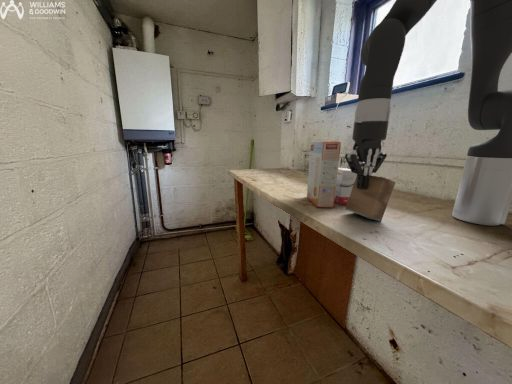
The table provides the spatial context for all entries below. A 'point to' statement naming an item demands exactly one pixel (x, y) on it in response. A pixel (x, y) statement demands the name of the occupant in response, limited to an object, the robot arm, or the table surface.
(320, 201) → the cracker box
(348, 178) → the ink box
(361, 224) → the table surface
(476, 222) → the robot arm
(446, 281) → the table surface
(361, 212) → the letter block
